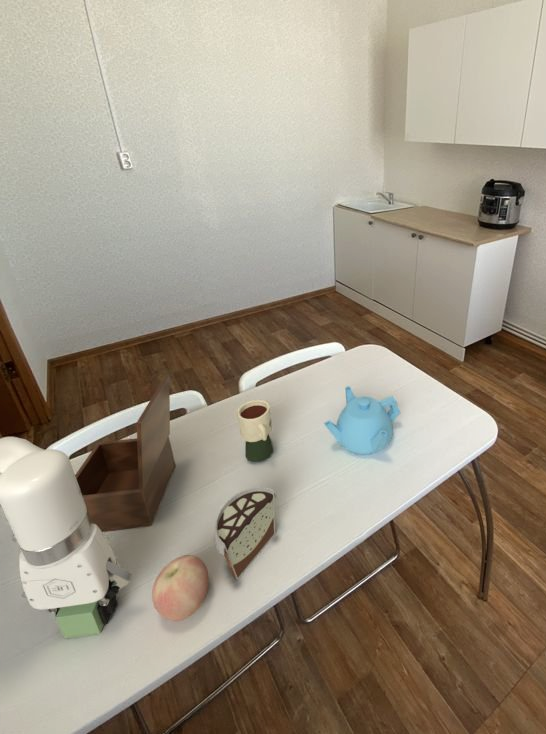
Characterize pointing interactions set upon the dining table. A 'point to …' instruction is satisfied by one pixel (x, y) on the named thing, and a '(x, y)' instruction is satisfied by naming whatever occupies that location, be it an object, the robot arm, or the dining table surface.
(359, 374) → the dining table surface
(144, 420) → the lid
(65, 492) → the robot arm
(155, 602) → the apple
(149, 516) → the chest
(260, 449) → the character mug
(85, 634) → the block
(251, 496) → the slice of cake
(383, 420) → the teapot
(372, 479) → the dining table surface
